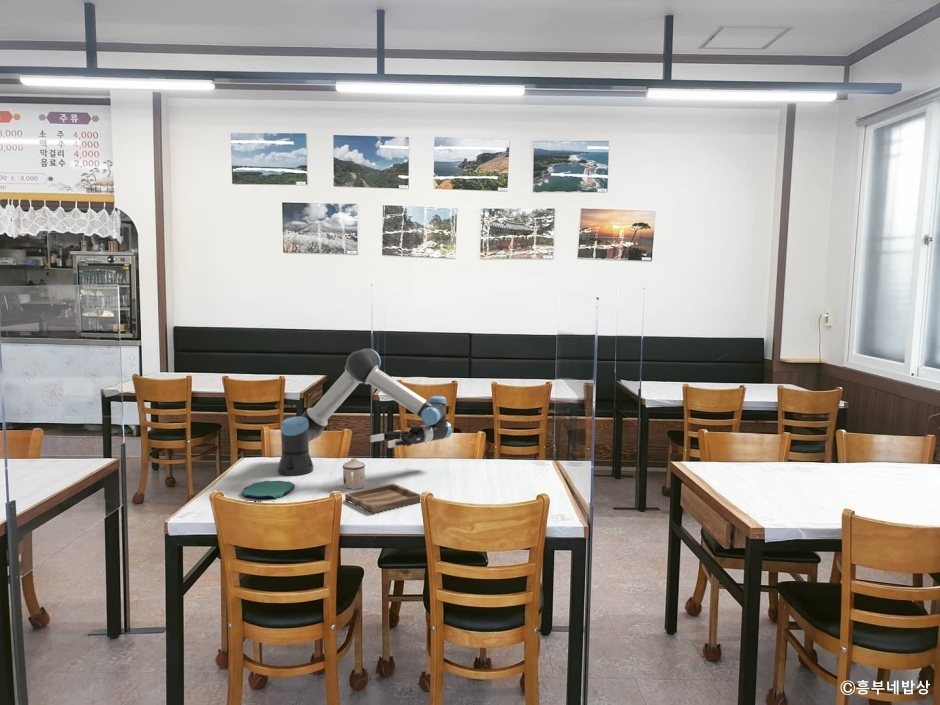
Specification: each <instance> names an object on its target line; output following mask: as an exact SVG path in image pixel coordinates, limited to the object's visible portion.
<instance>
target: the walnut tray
mask: <svg viewBox="0 0 940 705" xmlns="http://www.w3.org/2000/svg"><path fill="white" fill-rule="evenodd" d="M420 495H421V494H420V493H417V492H414V491H413V490H410V489H407V488H406V487H404V486H400V485H399V484H396V483H391V484H386V485H385V484H384V485H381V486H376V487H372V488H367V489H362V490H358V491H353V492H349V493H345V495H344V496H345V497H344V498H345V499H344V500H347V501H350V502H352V503H354V504H355V505H358V506H359V507H361V508H363V509H364V510H363V509H362V510H363V511H365V510H366V511H365V512H367V511H368V512H367V513H369V512H370V513H369V514H371V513H372V514H371V515H376V514H375V513H377V514H381V513H384V512H383V511H385V512H388V511H387V510H389V511H392V510H391V509H393V510H396V509H395V508H397V509H400V508H399V507H401V508H404V507H403V506H405V507H408V505H409V506H411V505H412V506H413V505H416V504H421V503H420ZM347 501H346V502H347ZM355 505H354V506H355ZM359 507H358V508H359ZM361 508H360V509H361ZM380 512H381V513H380Z"/></svg>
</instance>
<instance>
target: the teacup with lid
mask: <svg viewBox="0 0 940 705" xmlns="http://www.w3.org/2000/svg"><path fill="white" fill-rule="evenodd" d="M365 467H366V464H365V463H364V462H363V461H359V460H357V458H356V457H352V458H351V459H350V460H349V461H348V462H344V463H343V465H342V472H343V473H342V474H343V475H342V477H343V478H342V479H343V480H342V481H343V485H342V486H343V488H345V489H347V488H358V489H361V487H362V488H363V486H364V487H365V482H366V480H365V476H366V474H365V469H366V468H365Z"/></svg>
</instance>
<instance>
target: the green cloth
mask: <svg viewBox="0 0 940 705" xmlns="http://www.w3.org/2000/svg"><path fill="white" fill-rule="evenodd" d="M295 486H296V484H294V483H293V482H291V481H285V480H263V481H257V482H253V483H251V484H250V485H248V486H246V487H244V489H242V491H241V495H242V496H244V497H245V495H246V497H250V498H253V499H254V498H257V499H256V500H255V501H263V500H261V499H263V498H264V499H265V498H266V499H267V498H275V499H276V498H279V499H281V498H282V497H283V495H286V494H288V493H290V492H291V491H293V490H294V489H295ZM258 499H260V500H258ZM251 501H254V500H251ZM273 502H275V501H273Z"/></svg>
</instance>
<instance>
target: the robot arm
mask: <svg viewBox="0 0 940 705" xmlns="http://www.w3.org/2000/svg"><path fill="white" fill-rule="evenodd" d="M381 363H382V361H381V356H380V355H379V353H378V352H377V351H376V350H374V349H373V348H362V349H361V350H355V351H354V352H352V353H351V354H350V355H348V358H347V359H346V363H345V365H344V372H343V373H342V374H341V375H340V376H339V378H338V379H337V380H336V381H335V382H334V383H333V384H332V385H331V386H330V388H329V389H328V390H327V391H326V392H325V393H324V394H323V396H321V398H320V399H319V400H318V401H317V403H316V404H315V405H314V406H313V407H308V408H307V409H306V410H305V411H304V412H303V414H302V415H301V416H291V417H287V418H285V419H284V420H282V422H281V427H280V435H281V436H280V437H281V438H280V439H281V440H280V442H281V457H280V459H279V462H278V466H277V473H278V474H279V475H284V476H302V475H307V474H310V473H312V472H313V471H314V463H313V461H312V458H311V456H310V445H309V444H310V442H311V441H313V440H315V439H317V438H318V437H320V436H321V435H322V433H323V431H324V429H325V428H326V426H328V419H330V417H331V416H332V415H333V414H334V412H336V411H337V409H338V408H339V407H340V406H342V404H343V403H344V401H345V400H346V399H347V398H348V397H349V396H350V395H351V394H352V392H353V391H354V390H355V389H356V388H357V387H358V385H360V384H364V385H370V386H372V387H373V388H374V389H376V390H377V391H378V392H379V391H380V392H381V393H382V394H384V395H385V396H386V397H389V398H390V399H392V400H394V401H395V403H397V404H399V405H401V406H402V407H404V408H405V409H407V410H408V411H410V412H411V413H413V414H414V415H416V416H418V417H419V418H420V419H421V421H422V422H423V424H421V425H418V426H417V425H416V426H413V427H410V429H409V431H406V430H405V431H404V430H399V431H397V430H396V431H386V432H385V431H384V432H383V431H382V432H381V433H378V434H373V435H370V436H369V440H370V443H374V442H380V441H381V442H382V441H383V442H384V441H385V440H388V441H387V448H388V449H392V448H396V447H401V446H403V447H405V446H406V447H409V446H412V445H418V444H422V443H425V444H427V443H428V442H434V441H440V440H445V439H448V438H450V436H451V435H452V432H453V428H452V425H451V423H450V422H449V421H447V399H446V397H445V396H444V395H443V396H442V395H435V396H434V395H433V396H431V397H429V398H428V400H429V401H428V400H426V399H425V398H423V397H422V396H420V395H419V394H417V393H416V392H414V391H413V390H411V389H410V388H408V387H407V386H405V385H404V384H402V383H401V382H399V381H398V380H396V379H394V378H393V377H391V376H390V375H388V374H387V373H385V372H384V371H382V370H380V367H381Z"/></svg>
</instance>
